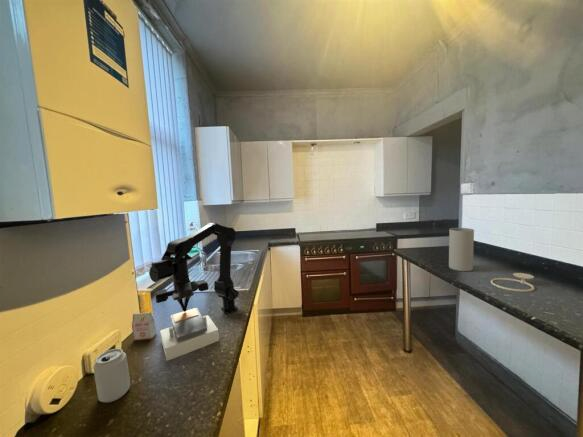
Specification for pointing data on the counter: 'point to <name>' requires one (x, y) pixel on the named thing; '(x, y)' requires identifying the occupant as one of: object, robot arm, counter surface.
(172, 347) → the breaker housing
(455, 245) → the cylinder vase
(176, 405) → the counter surface
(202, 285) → the robot arm
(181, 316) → the rocker switch
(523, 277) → the hand towel holder
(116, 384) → the can
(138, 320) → the printed cardboard box
